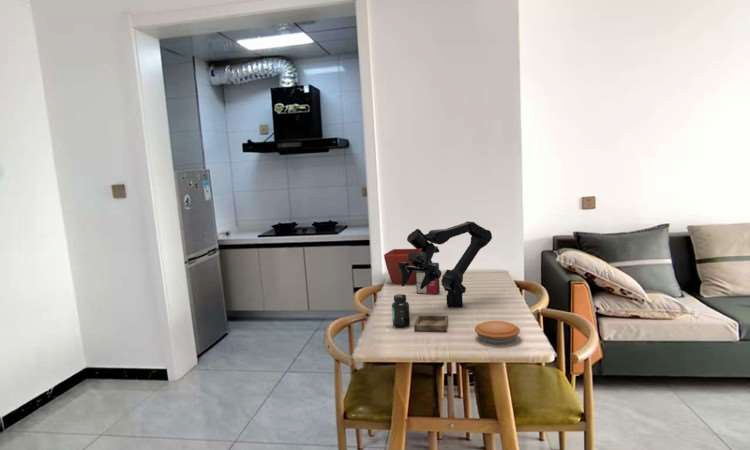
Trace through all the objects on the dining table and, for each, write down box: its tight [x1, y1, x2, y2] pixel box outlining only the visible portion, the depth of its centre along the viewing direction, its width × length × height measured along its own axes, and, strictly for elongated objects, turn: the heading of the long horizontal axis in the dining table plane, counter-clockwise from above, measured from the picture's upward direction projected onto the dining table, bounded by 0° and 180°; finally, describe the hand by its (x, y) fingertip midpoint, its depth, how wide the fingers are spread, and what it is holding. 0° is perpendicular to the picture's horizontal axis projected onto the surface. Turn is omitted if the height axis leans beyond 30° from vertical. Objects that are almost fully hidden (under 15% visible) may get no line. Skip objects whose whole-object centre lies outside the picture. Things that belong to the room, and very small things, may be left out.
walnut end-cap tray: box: [413, 314, 449, 333], centre depth 181 cm, size 12×12×2 cm
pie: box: [474, 320, 521, 345], centre depth 164 cm, size 15×16×5 cm
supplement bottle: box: [391, 293, 411, 329], centre depth 184 cm, size 7×7×12 cm
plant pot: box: [383, 248, 421, 285], centre depth 255 cm, size 19×19×17 cm
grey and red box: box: [415, 262, 441, 295], centre depth 229 cm, size 11×4×15 cm, turn 68°
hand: (411, 287), depth 189 cm, fingers open, 9 cm apart
